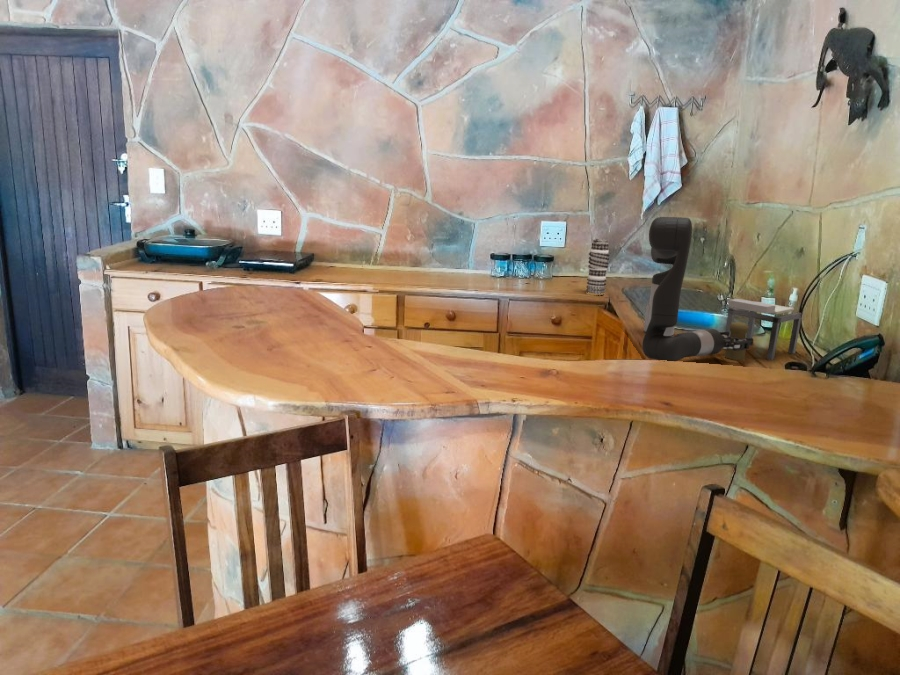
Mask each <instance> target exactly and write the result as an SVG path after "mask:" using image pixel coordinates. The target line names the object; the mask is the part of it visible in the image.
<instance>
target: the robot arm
mask: <svg viewBox="0 0 900 675" xmlns="http://www.w3.org/2000/svg"><path fill="white" fill-rule="evenodd" d="M692 236H693V223H692V220H691V219H690V218H689V217H678V216H677V217H675V216H659V217H655V219H654V220H652V222H651V223H650V227H649V230H648V241H649V244H650V256H651V259H652V261H653V262H654V263H656V264H662V265H672V267H670V269H667V270H666V271H662V272H658V273H655V274H653V275H652V278H651V287H650V294H649V303H647V304H646V308H645V315H644V316H645V317H644V323H643V324H644V325H643V332H645V334H644V336H643V339H642V346H641V347H642V352H643V355H644V356H645V357H646V358H648V359H651V360H656V361H660V360H667V361H674V362H678V361H680V360H682V359H684V358H690V357H705V356H710V355H711V356H712V355H716V354H718V353H720V352H721V350H723V349H724V350H726V348H732V349H733V350H734V351H738V350H745V351H746V350H748V351H749V350H750V347H751V346H753V345H754V338H746V339H740V338H737V337H735V336H729V332H727V331H726V330H725V331H718V330H717V329H714V328H708V329H700V330H699V329H697V330H693V331H687V332H681V333H677V334H675V328H676V325H677V323H678V319H679V309H680V308H679V307H680V300H681V299H680V298H681V291H682V287H683V282H684V278H685V274H686V269H687V264H688V260H689V254H690V249H691V248H690V247H691V243H692V238H693V237H692ZM674 334H675V335H674ZM732 339H734V343H732Z"/></svg>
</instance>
